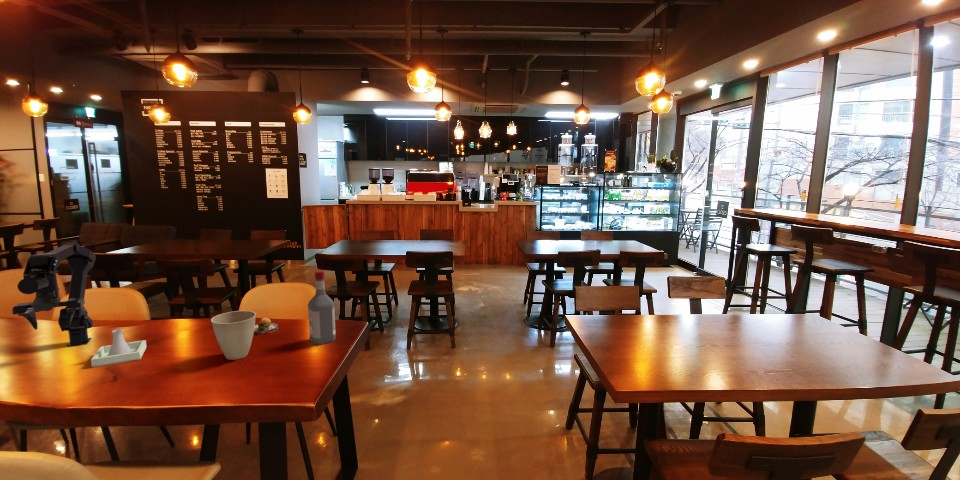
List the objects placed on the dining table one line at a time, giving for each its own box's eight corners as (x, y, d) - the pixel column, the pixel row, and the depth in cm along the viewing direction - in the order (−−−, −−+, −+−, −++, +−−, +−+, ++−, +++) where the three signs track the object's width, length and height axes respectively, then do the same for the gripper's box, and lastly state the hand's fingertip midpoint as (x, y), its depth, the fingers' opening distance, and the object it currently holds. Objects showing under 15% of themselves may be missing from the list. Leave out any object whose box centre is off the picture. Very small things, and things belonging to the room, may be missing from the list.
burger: (270, 324, 204) (269, 309, 203) (283, 329, 197) (282, 313, 196) (244, 331, 194) (243, 315, 193) (257, 337, 187) (256, 320, 186)
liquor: (316, 346, 177) (312, 275, 173) (308, 339, 184) (304, 271, 180) (337, 340, 183) (334, 271, 179) (329, 334, 190) (325, 268, 186)
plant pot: (205, 360, 163) (201, 320, 160) (239, 346, 176) (236, 308, 174) (234, 366, 158) (231, 325, 155) (267, 351, 171) (264, 313, 169)
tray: (101, 353, 168) (101, 346, 168) (146, 347, 175) (145, 340, 175) (91, 367, 156) (90, 359, 156) (140, 359, 163) (139, 352, 163)
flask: (118, 360, 162) (115, 334, 160) (103, 358, 163) (99, 333, 161) (137, 352, 169) (134, 328, 167) (121, 351, 170) (119, 326, 168)
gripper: (2, 295, 149) (8, 338, 152) (73, 289, 159) (79, 329, 161) (15, 288, 159) (22, 329, 161) (82, 282, 168) (87, 321, 170)
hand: (52, 327), depth 163 cm, fingers open, 9 cm apart
